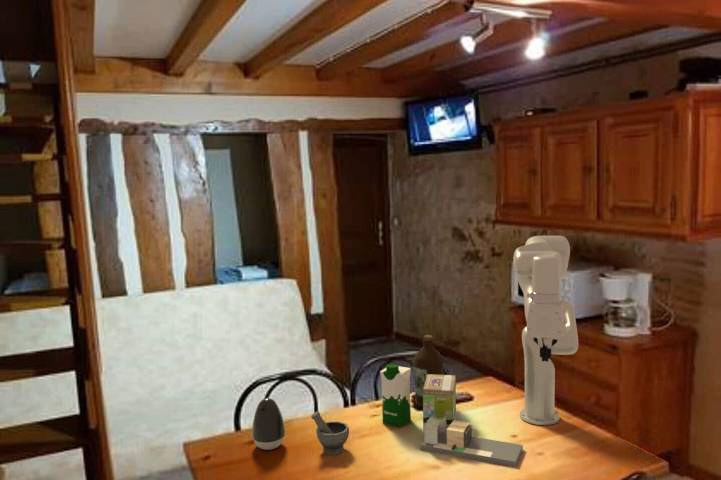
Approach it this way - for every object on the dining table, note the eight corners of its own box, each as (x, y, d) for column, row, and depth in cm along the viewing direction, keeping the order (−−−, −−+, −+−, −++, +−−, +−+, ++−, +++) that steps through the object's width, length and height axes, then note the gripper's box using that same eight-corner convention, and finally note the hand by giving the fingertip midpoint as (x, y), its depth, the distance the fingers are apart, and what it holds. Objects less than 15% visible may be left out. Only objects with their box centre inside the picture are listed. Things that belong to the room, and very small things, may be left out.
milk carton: (378, 424, 196) (377, 365, 194) (392, 414, 204) (390, 357, 201) (402, 429, 191) (400, 369, 189) (414, 419, 199) (413, 361, 197)
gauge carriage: (453, 435, 182) (453, 420, 181) (472, 439, 179) (472, 423, 179) (444, 449, 173) (444, 432, 173) (463, 452, 171) (463, 436, 170)
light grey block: (434, 431, 185) (433, 413, 185) (446, 433, 184) (446, 415, 183) (424, 443, 177) (424, 424, 177) (437, 446, 176) (437, 426, 175)
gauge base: (432, 434, 187) (432, 429, 187) (522, 449, 175) (522, 444, 175) (420, 449, 177) (420, 444, 177) (515, 466, 165) (515, 461, 165)
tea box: (454, 435, 186) (453, 390, 184) (422, 433, 188) (421, 388, 186) (456, 416, 200) (455, 374, 199) (426, 414, 202) (425, 373, 201)
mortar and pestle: (350, 442, 183) (348, 405, 182) (349, 456, 174) (348, 417, 173) (313, 443, 184) (312, 406, 182) (311, 457, 174) (309, 418, 173)
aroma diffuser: (246, 451, 179) (243, 403, 178) (263, 436, 189) (260, 391, 187) (275, 456, 176) (273, 407, 174) (291, 441, 186) (289, 394, 184)
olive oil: (430, 396, 219) (428, 330, 216) (450, 404, 210) (449, 336, 207) (408, 403, 213) (406, 335, 210) (427, 412, 204) (426, 342, 201)
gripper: (516, 299, 170) (516, 361, 172) (571, 302, 163) (571, 367, 165) (521, 294, 177) (521, 353, 179) (574, 297, 170) (574, 359, 172)
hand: (545, 360), depth 172 cm, fingers closed
